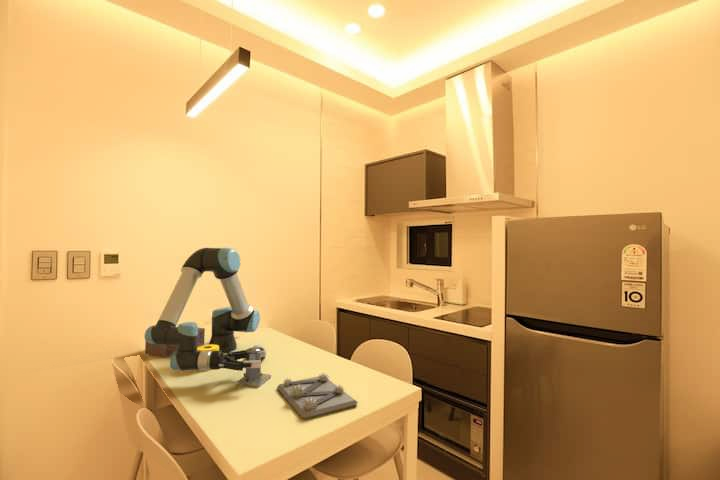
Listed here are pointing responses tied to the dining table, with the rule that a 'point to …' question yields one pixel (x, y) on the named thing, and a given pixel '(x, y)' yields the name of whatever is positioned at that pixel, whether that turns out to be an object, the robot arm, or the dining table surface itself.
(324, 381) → the decorative plate
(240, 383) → the square metal stand
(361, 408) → the dining table surface
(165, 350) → the tissue box cover
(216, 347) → the tape roll
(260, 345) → the ceramic mug
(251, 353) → the trash can
